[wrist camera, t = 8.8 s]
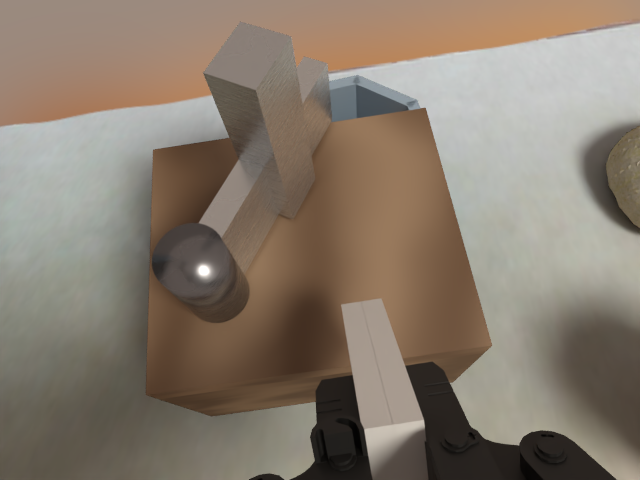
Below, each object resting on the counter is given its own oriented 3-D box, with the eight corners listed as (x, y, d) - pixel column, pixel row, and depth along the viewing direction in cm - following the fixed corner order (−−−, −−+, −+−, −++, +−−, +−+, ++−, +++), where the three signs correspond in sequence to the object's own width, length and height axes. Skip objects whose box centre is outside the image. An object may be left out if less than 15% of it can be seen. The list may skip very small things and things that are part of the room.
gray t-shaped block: (230, 333, 21) (148, 252, 13) (178, 308, 22) (70, 216, 14) (345, 123, 26) (337, -34, 18) (299, 108, 26) (270, -51, 18)
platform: (211, 416, 30) (145, 395, 21) (206, 230, 35) (153, 149, 26) (452, 382, 30) (492, 345, 21) (409, 199, 35) (425, 107, 26)
